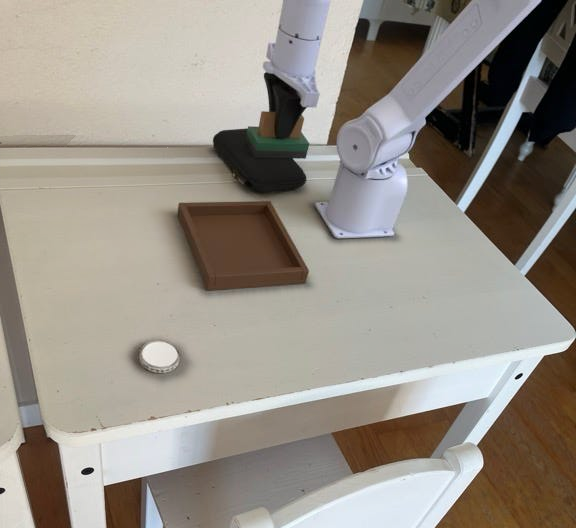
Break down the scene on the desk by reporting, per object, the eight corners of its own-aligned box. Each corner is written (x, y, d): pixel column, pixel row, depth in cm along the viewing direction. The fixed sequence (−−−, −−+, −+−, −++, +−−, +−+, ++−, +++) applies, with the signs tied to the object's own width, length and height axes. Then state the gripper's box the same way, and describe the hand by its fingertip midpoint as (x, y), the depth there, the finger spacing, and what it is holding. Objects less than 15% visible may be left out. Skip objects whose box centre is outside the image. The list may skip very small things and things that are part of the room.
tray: (267, 214, 85) (270, 200, 84) (305, 283, 77) (309, 270, 75) (177, 216, 80) (178, 202, 79) (207, 291, 72) (209, 276, 70)
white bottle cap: (152, 338, 65) (153, 334, 65) (186, 354, 65) (187, 350, 64) (131, 361, 62) (131, 357, 62) (166, 378, 62) (166, 374, 61)
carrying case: (200, 145, 93) (245, 201, 86) (202, 126, 91) (249, 182, 84) (261, 140, 98) (309, 192, 91) (265, 122, 96) (314, 174, 89)
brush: (245, 141, 91) (251, 105, 87) (295, 142, 94) (303, 107, 90) (254, 158, 88) (261, 122, 84) (305, 158, 91) (314, 123, 87)
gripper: (253, 5, 82) (238, 106, 91) (291, 54, 73) (269, 159, 83) (302, 10, 84) (281, 108, 94) (344, 58, 76) (317, 159, 86)
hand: (279, 132), depth 89 cm, fingers closed on brush, 2 cm apart
